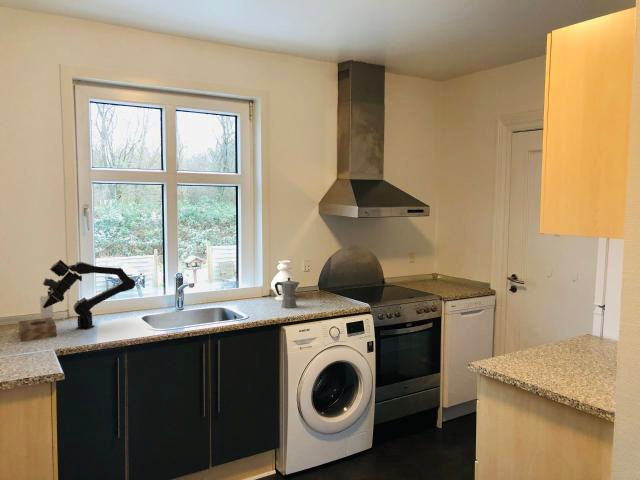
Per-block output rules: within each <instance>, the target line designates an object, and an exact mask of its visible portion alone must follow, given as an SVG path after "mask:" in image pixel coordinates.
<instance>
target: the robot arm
mask: <svg viewBox="0 0 640 480" xmlns="http://www.w3.org/2000/svg"><path fill="white" fill-rule="evenodd" d="M49 270H50V271H51V272H53V274H55V275H56V276H58V277H62V278H61V279H59V280H57V281H56V280H54V279H52V278H47V277H46V278H44V280H43V282H42V284H43V286H44V287H45V286H46V287H47V296H48V295H49V299H48V300H47V302H46V303H45V304H44V306H43V308H47V307H49V306H51V305H52V306H53V305H55V304H57V303H62V302H63V301H64V300H65V293H66V292H67V291H68V290H70V289H71V287H72V286H74V284H75V283H76V282H77V281H80V282H82V281H83V275H87V274H88V275H89V274H103V275H104V274H105V275H115V276H117V277H118V278H119V280H120V281H119V282H117V284H116V285H114V286H112V287H110V288H108V289H107V290H105V291H103V292H100V293H98V294H96V295H94V296H92V297H91V298H88V299H87V298H86V297H83V298H81V299H79V300H76V302H75V303H74V305H73V310H74V312H75V313H76V314H77V315H78V316H77V327H76V328H75V329H78V330H89V329H91V328H95V325H94V324H93V312H92V311H91V309H93V308H94V307H95V306H97V305H98V304H100V303H103V302H104V301H106V300H108V299H110V298H111V297H114V296H116V295H117V294H119V293H123V292H124V293H125V292H127V291H131V290H133V289H134V288H135V287H136V281H135V280H134V279H133V278H132V277H129V276H128V274H127V273H126V272H125V271H124V269H123V268H121V267H119V266H117V267H114V266H102V265H94V264H90V263H86V262H84V261H78V262H76V263H75V264H71V265H68V264H66V263H64V261H63V260H61V259H59V260H58V261H57V262H55V263H53V265H51V267H50V268H49ZM72 272H73V273H72Z"/></svg>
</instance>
